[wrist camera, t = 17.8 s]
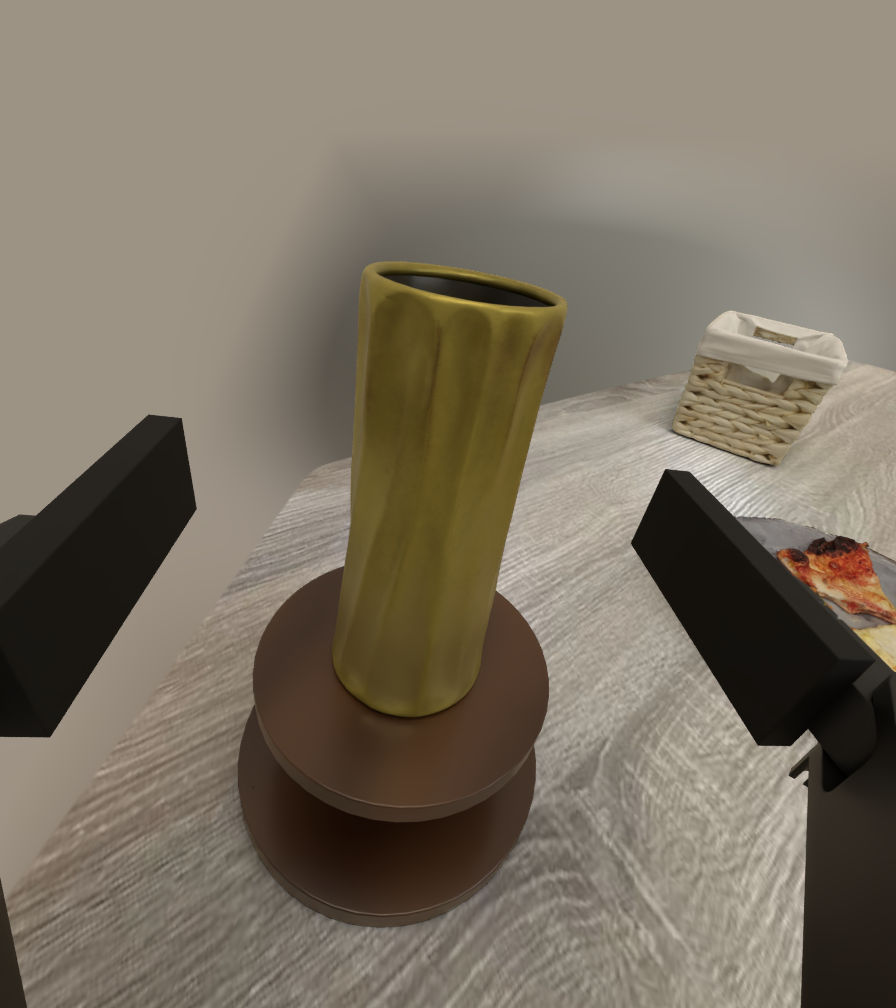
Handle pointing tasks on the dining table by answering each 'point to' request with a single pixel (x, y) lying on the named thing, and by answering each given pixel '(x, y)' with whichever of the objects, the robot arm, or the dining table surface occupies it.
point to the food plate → (838, 577)
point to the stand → (386, 771)
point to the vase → (435, 473)
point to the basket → (757, 385)
